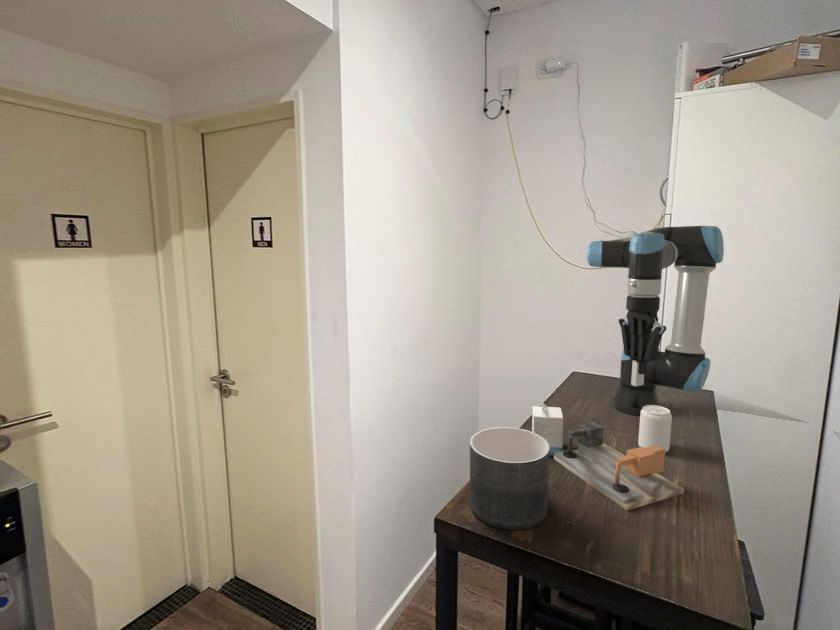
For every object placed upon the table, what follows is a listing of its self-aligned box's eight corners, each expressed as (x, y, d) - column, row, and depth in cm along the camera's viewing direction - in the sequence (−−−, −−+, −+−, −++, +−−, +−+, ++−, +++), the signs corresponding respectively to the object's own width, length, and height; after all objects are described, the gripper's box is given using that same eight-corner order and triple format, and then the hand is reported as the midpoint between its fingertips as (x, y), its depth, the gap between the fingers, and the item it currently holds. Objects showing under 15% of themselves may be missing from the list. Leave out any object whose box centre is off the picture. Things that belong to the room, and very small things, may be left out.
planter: (466, 485, 113) (467, 427, 110) (537, 485, 112) (539, 426, 109) (473, 530, 95) (473, 462, 92) (556, 531, 94) (559, 463, 92)
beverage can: (634, 448, 130) (637, 410, 128) (643, 439, 136) (645, 402, 134) (664, 457, 125) (668, 417, 123) (672, 447, 131) (675, 409, 129)
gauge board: (603, 447, 131) (605, 417, 130) (683, 493, 107) (686, 457, 106) (553, 459, 125) (555, 427, 123) (626, 510, 101) (629, 472, 99)
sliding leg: (652, 467, 114) (654, 443, 113) (666, 475, 110) (668, 450, 109) (609, 479, 109) (610, 454, 108) (622, 487, 105) (623, 461, 104)
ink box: (562, 457, 126) (564, 412, 124) (532, 454, 128) (533, 410, 126) (559, 443, 134) (561, 401, 132) (531, 441, 136) (532, 399, 134)
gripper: (612, 293, 116) (607, 379, 120) (654, 299, 104) (647, 394, 108) (633, 291, 119) (628, 375, 123) (677, 297, 107) (669, 390, 111)
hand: (637, 384), depth 116 cm, fingers closed
